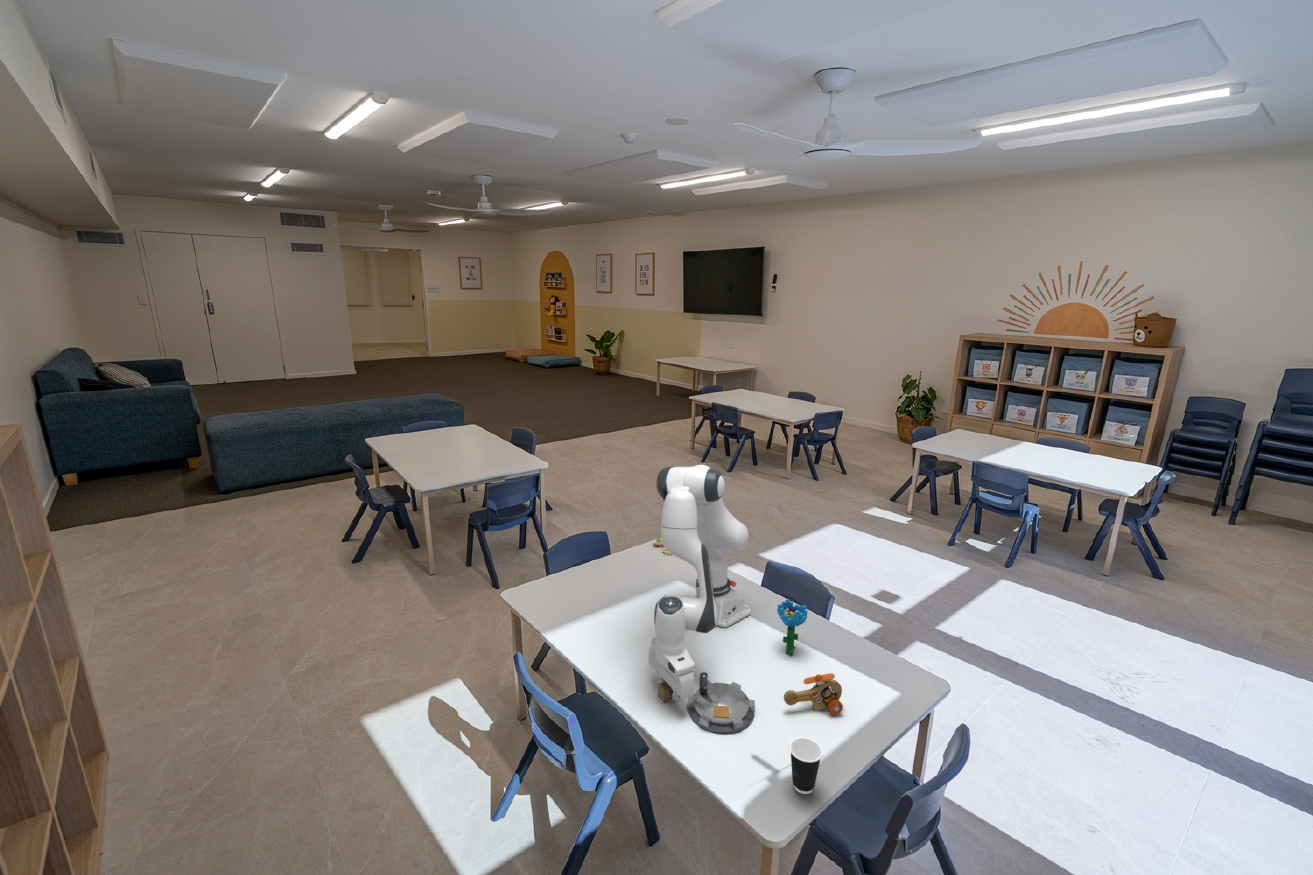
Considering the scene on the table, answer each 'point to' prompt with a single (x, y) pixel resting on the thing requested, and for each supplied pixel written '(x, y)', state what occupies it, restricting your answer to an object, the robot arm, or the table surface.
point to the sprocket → (720, 703)
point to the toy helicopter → (819, 693)
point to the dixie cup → (805, 763)
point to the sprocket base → (721, 729)
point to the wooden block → (665, 692)
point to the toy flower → (791, 621)
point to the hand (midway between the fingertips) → (669, 693)
